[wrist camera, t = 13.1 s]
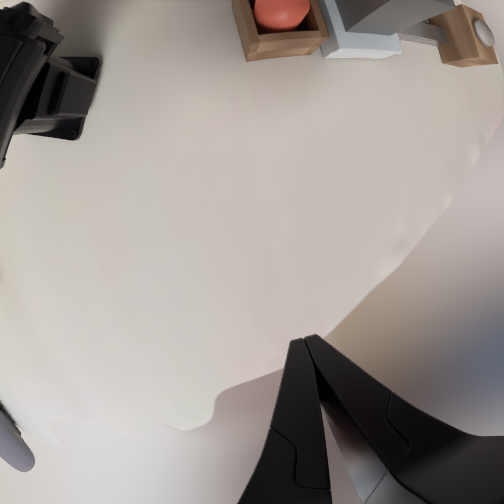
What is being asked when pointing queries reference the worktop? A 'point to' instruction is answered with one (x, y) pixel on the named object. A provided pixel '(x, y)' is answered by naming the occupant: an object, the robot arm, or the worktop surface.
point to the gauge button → (279, 15)
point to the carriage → (373, 25)
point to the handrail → (422, 34)
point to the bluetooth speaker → (14, 445)
